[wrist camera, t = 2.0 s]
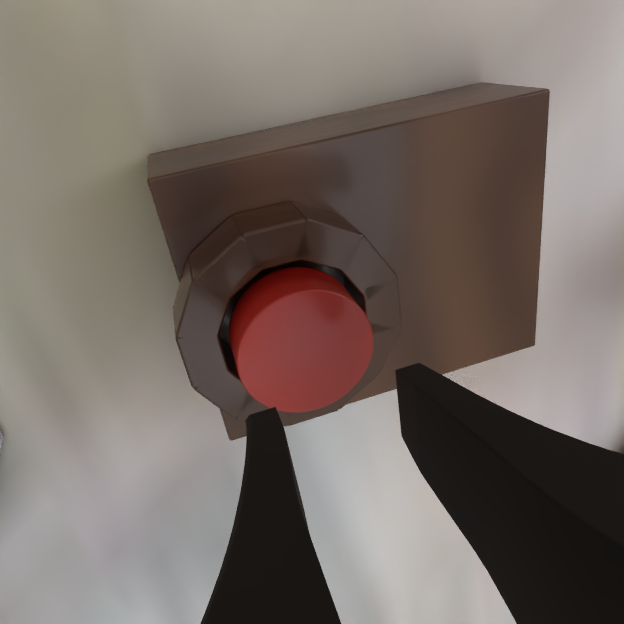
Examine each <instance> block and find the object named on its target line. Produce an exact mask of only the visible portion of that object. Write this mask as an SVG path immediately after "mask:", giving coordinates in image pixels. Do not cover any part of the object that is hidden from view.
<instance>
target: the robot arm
mask: <svg viewBox="0 0 624 624" xmlns="http://www.w3.org/2000/svg"><path fill="white" fill-rule="evenodd" d="M395 374H396V384H397V394H398V403H399V413H400V423H401V433H402V437H403V439H404V441H405V443H406V445H407V447H408V449H409V451H410V453H411V455H412V457H413V459H414V461H415V463H416V465H417V466H418V468H419V470H420V472H421V474H422V475H423V477H424V478H425V480H426V481H427V483H428V484H429V485H430V487H431V488H432V490H433V491H434V493H435V494H436V496H437V497H438V499H439V500H440V502H441V503H442V504H443V506H444V507H445V509H446V510H447V512H448V513H449V514H450V516H451V517H452V519H453V520H454V522H455V523H456V525H457V526H458V527H459V529H460V530H461V532H462V533H463V535H464V536H465V538H466V539H467V540H468V542H469V543H470V545H471V546H472V548H473V549H474V550H475V552H476V554H477V555H478V557H479V558H480V560H481V561H482V563H483V565H484V566H485V568H486V569H487V571H488V573H489V574H490V576H491V578H492V580H493V582H494V583H495V585H496V587H497V589H498V590H499V592H500V594H501V596H502V598H503V599H504V601H505V603H506V605H507V606H508V608H509V610H510V612H511V614H512V616H513V617H514V619H515V621H516V623H517V624H624V454H621V453H617V452H614V451H611V450H607V449H604V448H601V447H598V446H595V445H592V444H589V443H586V442H584V441H581V440H578V439H576V438H573V437H570V436H567V435H565V434H562V433H559V432H557V431H554V430H552V429H549V428H547V427H544V426H542V425H540V424H537V423H535V422H533V421H531V420H528V419H526V418H524V417H522V416H520V415H517V414H515V413H513V412H511V411H509V410H507V409H505V408H503V407H501V406H499V405H497V404H495V403H493V402H491V401H489V400H487V399H485V398H483V397H481V396H479V395H477V394H475V393H473V392H472V391H470V390H468V389H466V388H464V387H462V386H461V385H459V384H457V383H455V382H453V381H452V380H450V379H448V378H446V377H444V376H443V375H441V374H439V373H437V372H436V371H434V370H432V369H430V368H428V367H427V366H425V365H423V364H421V363H416V364H413V365H410V366H406V367H403V368H400V369H397V370H395ZM245 421H246V431H247V443H246V457H245V466H244V473H243V480H242V487H241V493H240V498H239V502H238V507H237V511H236V516H235V521H234V525H233V529H232V533H231V537H230V540H229V544H228V547H227V551H226V554H225V557H224V561H223V564H222V567H221V570H220V573H219V576H218V579H217V581H216V584H215V587H214V590H213V593H212V595H211V598H210V601H209V604H208V606H207V609H206V611H205V614H204V616H203V619H202V621H201V624H341V622H340V619H339V616H338V613H337V611H336V608H335V605H334V602H333V600H332V597H331V594H330V591H329V588H328V586H327V583H326V580H325V577H324V574H323V572H322V569H321V566H320V563H319V560H318V557H317V555H316V552H315V549H314V546H313V543H312V540H311V537H310V534H309V530H308V526H307V521H306V517H305V512H304V508H303V504H302V500H301V496H300V492H299V488H298V484H297V480H296V476H295V471H294V467H293V463H292V459H291V455H290V451H289V447H288V443H287V439H286V435H285V431H284V427H283V424H282V421H281V419H280V416H279V414H278V412H277V409H276V407H273V408H270V409H267V410H263V411H260V412H257V413H253V414H250V415H249V416H248V417H247V419H246V420H245ZM2 442H3V434H2V433H1V431H0V453H1V448H2Z"/></svg>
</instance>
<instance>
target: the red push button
mask: <svg viewBox="0 0 624 624" xmlns="http://www.w3.org/2000/svg"><path fill="white" fill-rule="evenodd" d="M229 340H230V345H231V349H232V352H233V356H234V360H235V363H236V367H237V371H238V374H239V377H240V380H241V382H242V384H243V386H244V387H245V389H246V390H247V391H248V393H249V394H250V395H251V396H252V397H253V398H254V399H255V400H257V401H258V402H260V403H261V404H263V405H265V406H267V407H269V408H273V407H276V409H277V410H278V411H283V412H293V413H294V412H307V411H312V410H316V409H319V408H322V407H325V406H327V405H329V404H331V403H333V402H335V401H337V400H338V399H340V398H342V397H343V396H344V395H345V394H347V393H348V392H349V391H350V390H351V389H352V388H353V387H354V386H355V385H356V384H357V383H358V382H359V380H360V379H361V377H362V376H363V374H364V373H365V371H366V369H367V367H368V365H369V362H370V360H371V356H372V352H373V332H372V327H371V324H370V322H369V319H368V317H367V316H366V314H365V312H364V311H363V310H362V309H361V307H360V306H359V305H358V304H357V302H356V301H355V300H354V299H353V298H352V296H351V295H350V294H349V293H348V291H347V290H346V289H345V288H344V287H343V285H342V284H341V283H340V282H339V281H338V280H337V279H335V278H334V277H332V276H331V275H329V274H327V273H325V272H323V271H320V270H317V269H313V268H308V267H291V268H285V269H281V270H278V271H274V272H272V273H270V274H268V275H265V276H264V277H262V278H260V279H259V280H257V281H256V282H255V283H253V284H252V285H251V286H250V287H249V288H248V289H247V290H246V291H245V292H244V293H243V295H242V296H241V297H240V299H239V300H238V302H237V303H236V305H235V307H234V309H233V312H232V314H231V318H230V322H229Z"/></svg>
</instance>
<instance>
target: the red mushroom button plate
mask: <svg viewBox="0 0 624 624" xmlns="http://www.w3.org/2000/svg"><path fill="white" fill-rule="evenodd" d="M549 93H550V91H549V89H544V88H534V87H523V86H513V85H502V84H492V83H477V84H473V85H468V86H463V87H459V88H454V89H450V90H445V91H440V92H436V93H431V94H427V95H422V96H417V97H413V98H408V99H404V100H399V101H394V102H390V103H385V104H380V105H376V106H371V107H367V108H362V109H357V110H353V111H348V112H344V113H339V114H334V115H330V116H325V117H321V118H316V119H311V120H307V121H302V122H297V123H293V124H288V125H284V126H279V127H274V128H270V129H265V130H261V131H256V132H251V133H247V134H242V135H238V136H233V137H228V138H224V139H219V140H214V141H210V142H205V143H201V144H196V145H191V146H187V147H182V148H178V149H173V150H168V151H164V152H159V153H154V154H150V155H148V179H147V182H148V185H149V188H150V191H151V194H152V197H153V201H154V204H155V207H156V210H157V213H158V216H159V219H160V223H161V226H162V229H163V232H164V235H165V238H166V241H167V245H168V248H169V251H170V254H171V257H172V260H173V263H174V267H175V270H176V273H177V276H178V279H179V282H180V285H179V288H178V292H177V295H176V299H175V303H174V306H173V315H174V326H175V338H176V342H177V345H178V348H179V351H180V354H181V357H182V360H183V362H184V365H185V368H186V371H187V374H188V377H189V380H190V383H191V386H192V387H193V388H194V390H196V391H197V392H198V393H200V394H201V395H202V396H204V397H205V398H206V399H208V400H209V401H210V402H212V403H213V404H214V405H216V406H217V407H219V408H220V411H221V414H222V418H223V421H224V424H225V427H226V430H227V433H228V436H229V439H230V440H235V439H238V438H241V437H244V436H247V431H246V421H245V420H246V419H247V417H248V416H249V415H250V414H253V413H257V412H260V411H263V410H267V409H270V408H269V407H267V406H265V405H263V404H261V403H260V402H258V401H257V400H255V399H254V398H253V397H252V396H251V395H250V394H249V393H248V391H247V390H246V389H245V387H244V386H243V384H242V382H241V380H240V377H239V374H238V371H237V367H236V363H235V360H234V356H233V352H232V349H231V345H230V340H229V322H230V318H231V314H232V312H233V309H234V307H235V305H236V303H237V302H238V300H239V299H240V297H241V296H242V295H243V293H244V292H245V291H246V290H247V289H248V288H249V287H250V286H251V285H252V284H253V283H255V282H256V281H257V280H259V279H260V278H262V277H264V276H265V275H268V274H270V273H272V272H274V271H278V270H281V269H285V268H291V267H308V268H313V269H317V270H320V271H323V272H325V273H327V274H329V275H331V276H332V277H334V278H335V279H337V280H338V281H339V282H340V283H341V284H342V285H343V287H344V288H345V289H346V290H347V291H348V293H349V294H350V295H351V296H352V298H353V299H354V300H355V301H356V302H357V304H358V305H359V306H360V307H361V309H362V310H363V311H364V312H365V314H366V316H367V317H368V319H369V322H370V324H371V327H372V332H373V352H372V356H371V360H370V362H369V365H368V367H367V369H366V371H365V373H364V374H363V376H362V377H361V379H360V380H359V382H358V383H357V384H356V385H355V386H354V387H353V388H352V389H351V390H350V391H349V392H348V393H347V394H345V395H344V396H343V397H342V398H340V399H338V400H337V401H335V402H333V403H331V404H329V405H327V406H325V407H322V408H319V409H316V410H312V411H307V412H294V413H293V412H283V411H278V410H277V412H278V414H279V416H280V419H281V421H282V424H283V426H290V425H293V424H296V423H300V422H303V421H306V420H309V419H312V418H315V417H319V416H322V415H325V414H328V413H331V412H335V411H337V410H338V409H341V408H342V407H343V406H345V405H346V404H349V403H352V402H356V401H359V400H362V399H365V398H368V397H372V396H375V395H378V394H381V393H384V392H387V391H391V390H394V389H397V384H396V374H395V370H397V369H400V368H403V367H406V366H410V365H413V364H416V363H421V364H423V365H425V366H427V367H428V368H430V369H432V370H434V371H436V372H437V373H439V374H441V375H442V374H445V373H448V372H451V371H454V370H458V369H461V368H464V367H467V366H470V365H474V364H477V363H480V362H483V361H486V360H489V359H493V358H496V357H499V356H502V355H505V354H509V353H512V352H515V351H518V350H521V349H525V348H528V347H531V346H534V345H535V331H536V314H537V297H538V280H539V263H540V246H541V229H542V212H543V195H544V178H545V161H546V144H547V127H548V110H549Z"/></svg>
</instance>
